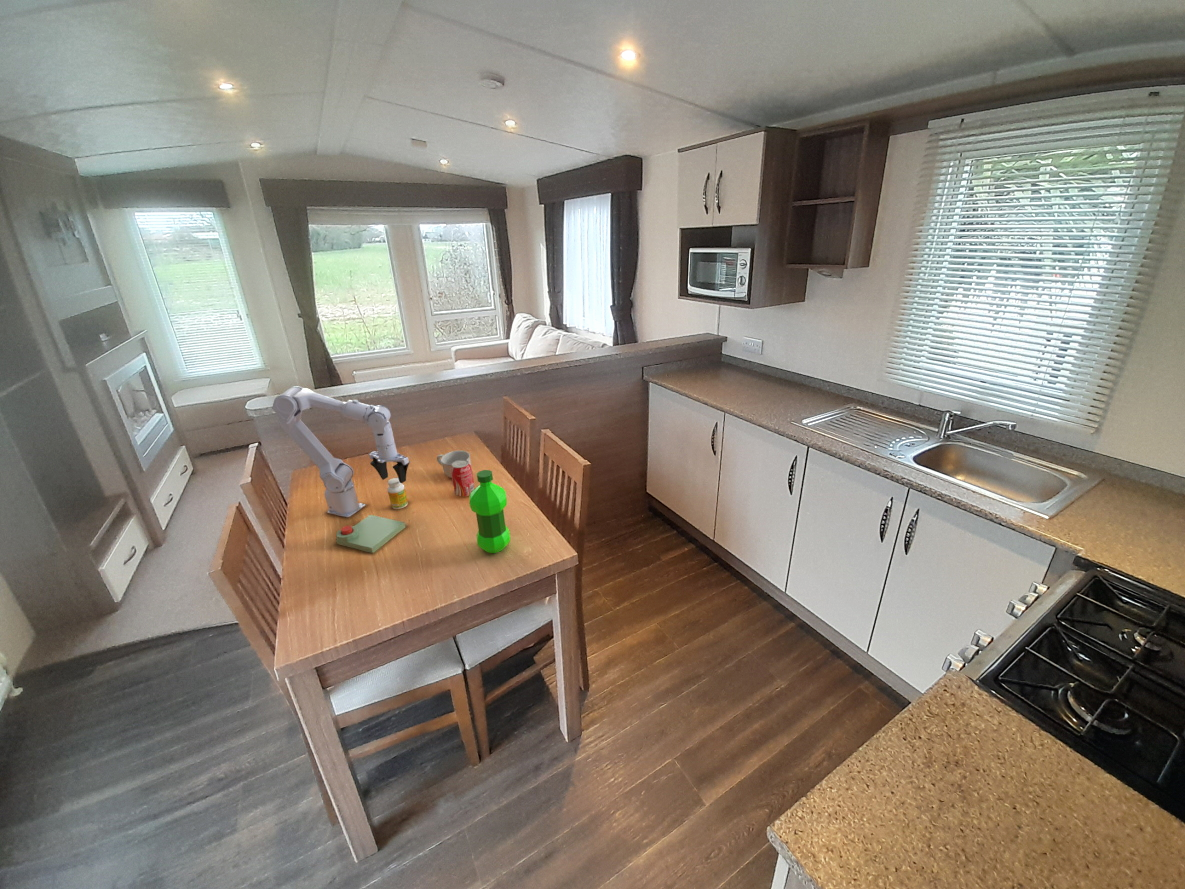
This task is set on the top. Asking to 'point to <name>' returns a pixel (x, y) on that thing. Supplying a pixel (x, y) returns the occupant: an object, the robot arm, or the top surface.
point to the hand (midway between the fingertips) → (394, 480)
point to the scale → (370, 533)
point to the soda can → (462, 478)
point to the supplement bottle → (397, 494)
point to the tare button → (346, 530)
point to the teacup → (452, 460)
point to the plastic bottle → (490, 513)
